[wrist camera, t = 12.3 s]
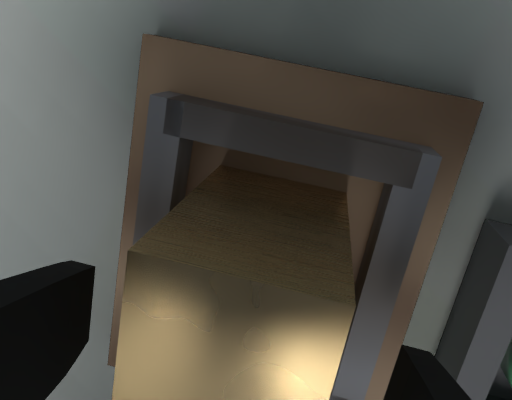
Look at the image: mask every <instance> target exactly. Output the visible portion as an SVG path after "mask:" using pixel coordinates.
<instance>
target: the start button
mask: <svg viewBox="0 0 512 400" xmlns="http://www.w3.org/2000/svg"><path fill="white" fill-rule="evenodd" d="M500 366H501V369H502V371H503V373H504V375H505V376H506V378H507V380H508V382H509V384H510V386H511V388H512V338H511V341H510V343H509V345H508V348H507V350H506V353H505V355H504V357H503V360H502V362H501V364H500Z"/></svg>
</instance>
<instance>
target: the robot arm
mask: <svg viewBox="0 0 512 400" xmlns="http://www.w3.org/2000/svg"><path fill="white" fill-rule="evenodd" d="M94 275H95V266H91V265H87V264H83V263H79V262H75V261H66V262H61V263H57V264H53V265H49V266H46V267H42V268H39V269H36V270H32V271H29V272H26V273H22V274H19V275H16V276H12V277H9V278H6V279H2V280H0V400H45V399H46V398H47V397H48V396H49V395H50V393H51V392H52V391H53V390H54V389H55V388H56V386H57V385H58V384H59V383H60V382H61V380H62V379H63V378H64V377H65V376H66V374H67V373H68V371H69V370H70V368H71V367H72V365H73V364H74V362H75V361H76V359H77V358H78V356H79V355H80V353H81V351H82V350H83V348H84V347H85V345H86V344H87V342H88V340H89V330H90V319H91V308H92V297H93V286H94ZM383 400H472V399H471V398H470V397H469V396H468V395H467V394H466V392H465V391H464V390H463V389H462V388H461V387H460V385H459V384H458V383H457V382H456V381H455V380H454V378H453V377H452V376H451V375H450V374H449V373H448V371H447V370H446V369H445V368H444V367H443V366H442V365H441V363H440V362H439V361H438V360H437V359H436V358H435V357H434V356H433V355H432V354H431V353H430V352H428V351H424V350H420V349H416V348H412V347H409V346H405V345H401V348H400V351H399V354H398V357H397V360H396V363H395V366H394V369H393V372H392V375H391V378H390V381H389V384H388V387H387V390H386V393H385V396H384V399H383Z"/></svg>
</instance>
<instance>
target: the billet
mask: <svg viewBox="0 0 512 400" xmlns="http://www.w3.org/2000/svg"><path fill="white" fill-rule="evenodd" d="M355 307H356V302H355V290H354V277H353V265H352V252H351V240H350V227H349V215H348V203H347V192H342V191H338V190H333V189H329V188H324V187H320V186H315V185H311V184H306V183H302V182H297V181H293V180H288V179H284V178H279V177H275V176H270V175H266V174H261V173H257V172H252V171H248V170H243V169H239V168H234V167H229V166H225V165H220V166H219V167H218V168H217V169H215V170H214V171H213V172H212V173H211V174H210V175H209V176H208V177H207V178H206V179H205V180H204V181H202V182H201V183H200V184H199V185H198V186H197V187H196V188H195V189H194V190H193V191H192V192H191V193H189V194H188V195H187V196H186V197H185V198H184V199H183V200H182V201H181V202H180V203H179V204H177V205H176V206H175V207H174V208H173V209H172V210H171V211H170V212H169V213H168V214H167V215H166V216H164V217H163V218H162V219H161V220H160V221H159V222H158V223H157V224H156V225H155V226H154V227H153V228H151V229H150V230H149V231H148V232H147V233H146V234H145V235H144V236H143V237H142V238H141V239H139V240H138V241H137V242H136V243H135V244H134V245H133V246H132V247H131V248H130V249H129V250H128V252H127V262H126V271H125V281H124V290H123V299H122V309H121V318H120V328H119V337H118V346H117V356H116V365H115V375H114V384H113V393H112V400H329V398H330V395H331V391H332V388H333V384H334V381H335V377H336V374H337V370H338V367H339V363H340V360H341V356H342V353H343V349H344V346H345V342H346V339H347V335H348V332H349V328H350V325H351V321H352V318H353V314H354V311H355Z"/></svg>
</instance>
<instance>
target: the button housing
mask: <svg viewBox="0 0 512 400" xmlns="http://www.w3.org/2000/svg"><path fill="white" fill-rule="evenodd" d="M511 338H512V225H509V224H504V223H500V222H495V221H491V220H486V219H485V222H484V224H483V227H482V230H481V233H480V235H479V238H478V241H477V243H476V246H475V249H474V252H473V254H472V257H471V260H470V262H469V265H468V268H467V271H466V273H465V276H464V279H463V282H462V284H461V287H460V290H459V292H458V295H457V298H456V301H455V303H454V306H453V309H452V311H451V314H450V317H449V320H448V322H447V325H446V328H445V331H444V333H443V336H442V339H441V341H440V344H439V347H438V350H437V352H436V355H435V358H436V359H437V360H438V361H439V362H440V363H441V365H442V366H443V367H444V368H445V369H446V370H447V371H448V373H449V374H450V375H451V376H452V377H453V378H454V380H455V381H456V382H457V383H458V384H459V385H460V387H461V388H462V389H463V390H464V391H465V392H466V394H467V395H468V396H469V397H470V398H471V399H472V400H512V388H511V386H510V384H509V382H508V380H507V378H506V376H505V375H504V373H503V371H502V369H501V366H500V364H501V362H502V360H503V357H504V355H505V353H506V350H507V348H508V345H509V343H510V341H511Z"/></svg>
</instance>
